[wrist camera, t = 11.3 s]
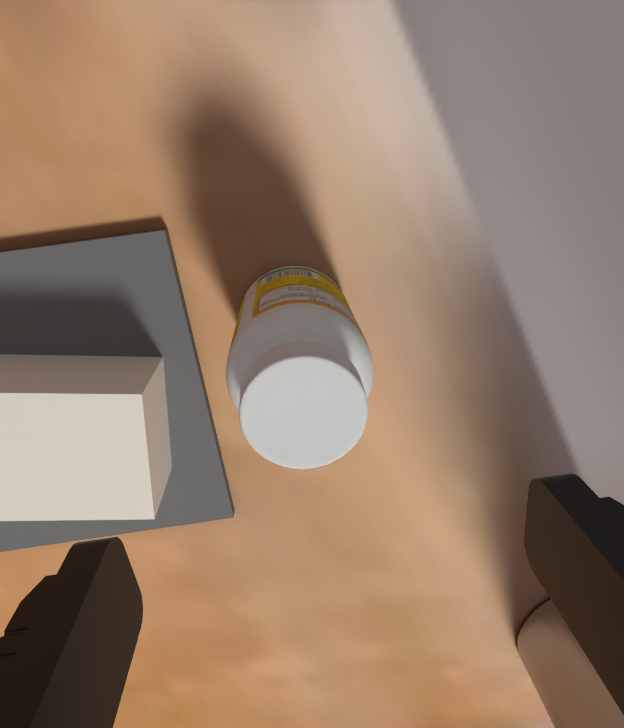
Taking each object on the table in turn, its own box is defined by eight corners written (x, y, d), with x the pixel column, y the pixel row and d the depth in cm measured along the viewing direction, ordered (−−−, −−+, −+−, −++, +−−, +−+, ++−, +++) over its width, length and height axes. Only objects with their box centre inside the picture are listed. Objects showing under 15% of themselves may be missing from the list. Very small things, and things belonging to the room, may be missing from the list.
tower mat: (234, 510, 27) (233, 517, 27) (-42, 550, 27) (-49, 558, 27) (167, 228, 21) (164, 230, 21) (-195, 277, 21) (-208, 280, 20)
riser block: (172, 467, 25) (154, 519, 22) (-67, 468, 24) (-128, 522, 21) (163, 356, 23) (141, 394, 19) (-104, 352, 22) (-180, 391, 18)
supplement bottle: (290, 239, 22) (301, 292, 13) (370, 314, 23) (428, 407, 15) (215, 322, 23) (179, 422, 14) (296, 388, 25) (308, 513, 16)
